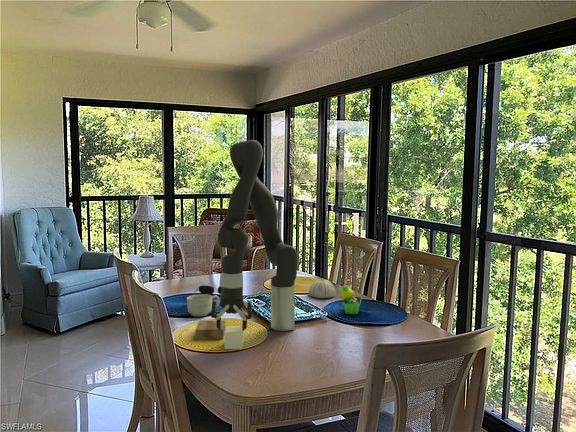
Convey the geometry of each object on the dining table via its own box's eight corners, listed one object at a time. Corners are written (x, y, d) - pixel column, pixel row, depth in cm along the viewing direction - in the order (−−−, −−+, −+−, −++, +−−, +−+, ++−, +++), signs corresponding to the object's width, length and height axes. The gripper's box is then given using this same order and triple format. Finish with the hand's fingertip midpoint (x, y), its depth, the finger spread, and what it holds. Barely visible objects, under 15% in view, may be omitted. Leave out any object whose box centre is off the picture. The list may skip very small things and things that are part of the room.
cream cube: (243, 342, 170) (243, 326, 169) (241, 349, 164) (241, 332, 163) (226, 342, 170) (226, 326, 169) (224, 348, 164) (224, 332, 163)
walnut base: (225, 330, 183) (225, 320, 183) (223, 339, 173) (223, 329, 173) (199, 330, 183) (199, 320, 182) (195, 340, 173) (195, 329, 172)
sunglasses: (233, 295, 233) (233, 285, 232) (227, 307, 219) (226, 297, 217) (199, 294, 234) (198, 285, 233) (190, 306, 220) (190, 296, 219)
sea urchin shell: (326, 301, 222) (326, 284, 222) (302, 296, 230) (302, 280, 230) (340, 295, 233) (340, 279, 232) (317, 291, 241) (318, 275, 240)
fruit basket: (360, 315, 201) (360, 289, 200) (339, 314, 203) (339, 288, 202) (361, 307, 213) (362, 283, 211) (341, 306, 214) (342, 282, 213)
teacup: (187, 319, 195) (187, 300, 194) (186, 311, 205) (185, 293, 204) (221, 316, 198) (221, 298, 197) (218, 309, 209) (218, 291, 208)
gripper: (253, 282, 169) (252, 326, 170) (214, 281, 169) (213, 325, 170) (251, 288, 161) (250, 334, 163) (210, 286, 161) (209, 332, 163)
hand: (231, 329), depth 167 cm, fingers open, 8 cm apart
